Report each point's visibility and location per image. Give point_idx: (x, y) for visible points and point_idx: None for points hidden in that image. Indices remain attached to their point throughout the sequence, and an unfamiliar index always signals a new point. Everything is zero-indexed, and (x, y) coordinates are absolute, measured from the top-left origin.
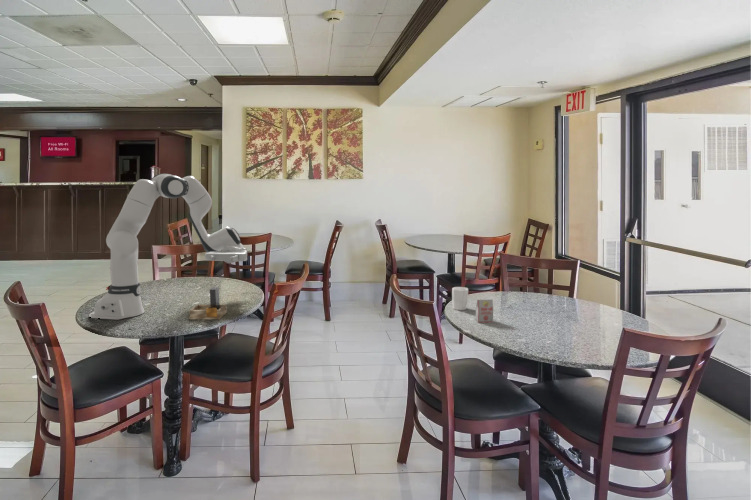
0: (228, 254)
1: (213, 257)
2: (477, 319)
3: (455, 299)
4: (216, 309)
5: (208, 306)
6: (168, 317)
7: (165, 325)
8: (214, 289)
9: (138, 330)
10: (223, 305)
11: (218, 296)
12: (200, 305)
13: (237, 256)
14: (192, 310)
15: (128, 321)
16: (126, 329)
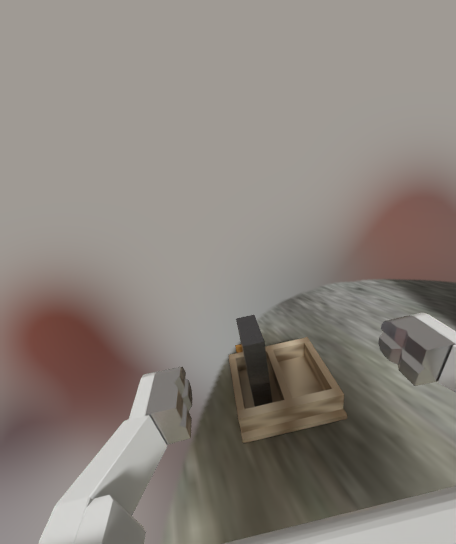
0: (276, 531)
1: (388, 321)
2: None
3: None
4: (236, 349)
5: (285, 381)
6: (374, 350)
7: (319, 312)
8: (239, 318)
9: (338, 289)
10: (241, 403)
11: (246, 365)
12: (325, 391)
13: (70, 505)
14: (300, 339)
15: (426, 310)
16: (364, 287)
